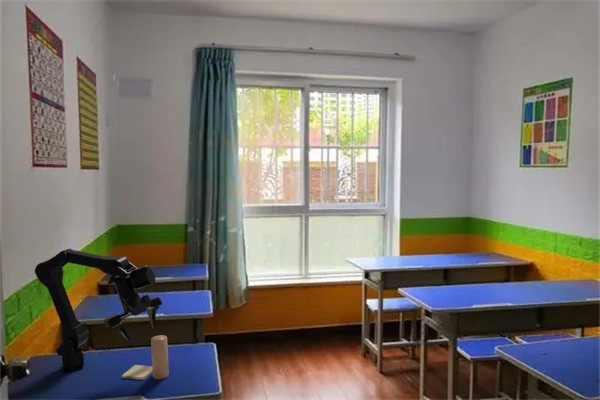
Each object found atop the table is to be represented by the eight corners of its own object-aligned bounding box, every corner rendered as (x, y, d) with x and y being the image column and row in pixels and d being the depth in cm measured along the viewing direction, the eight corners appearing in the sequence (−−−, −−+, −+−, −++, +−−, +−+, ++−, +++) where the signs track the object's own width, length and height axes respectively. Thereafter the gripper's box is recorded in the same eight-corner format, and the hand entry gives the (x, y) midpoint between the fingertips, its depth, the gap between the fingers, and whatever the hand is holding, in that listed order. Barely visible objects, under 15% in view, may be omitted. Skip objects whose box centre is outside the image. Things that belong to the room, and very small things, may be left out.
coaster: (122, 377, 159) (121, 375, 159) (135, 367, 167) (134, 364, 167) (143, 379, 158) (143, 377, 158) (155, 369, 166) (155, 366, 166)
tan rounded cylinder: (154, 380, 157) (152, 342, 156) (151, 374, 162) (149, 337, 161) (170, 376, 160) (168, 339, 158) (166, 370, 164) (165, 334, 163)
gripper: (106, 304, 151) (123, 350, 152) (160, 281, 162) (175, 324, 163) (97, 303, 160) (112, 346, 161) (149, 281, 171) (163, 322, 172)
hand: (141, 334), depth 164 cm, fingers open, 9 cm apart
